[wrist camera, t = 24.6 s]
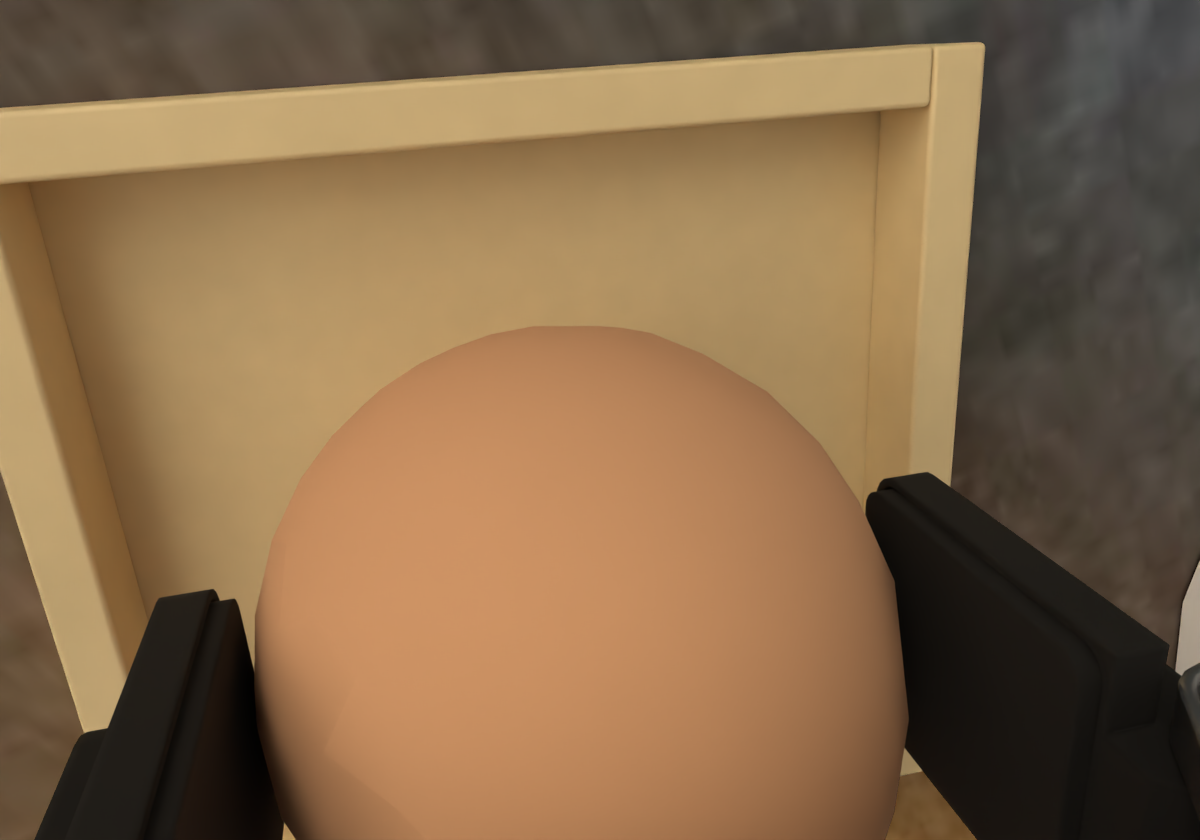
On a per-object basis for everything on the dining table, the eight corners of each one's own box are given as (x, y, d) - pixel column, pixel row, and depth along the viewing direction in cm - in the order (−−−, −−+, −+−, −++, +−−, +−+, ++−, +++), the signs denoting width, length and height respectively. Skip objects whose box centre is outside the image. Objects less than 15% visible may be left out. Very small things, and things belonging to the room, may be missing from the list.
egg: (574, 752, 17) (750, 1328, 9) (186, 575, 14) (-25, 1186, 6) (827, 425, 16) (1270, 770, 8) (460, 163, 13) (600, 308, 5)
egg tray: (175, 850, 17) (150, 950, 15) (-42, 110, 12) (-116, 118, 10) (874, 702, 20) (929, 771, 18) (908, 44, 15) (988, 42, 13)
